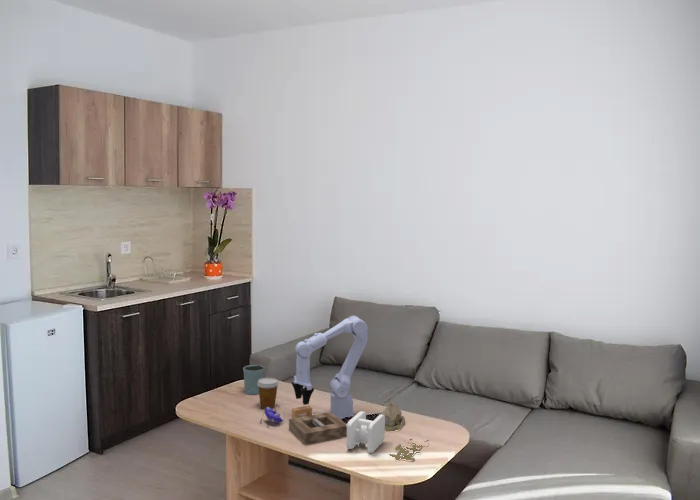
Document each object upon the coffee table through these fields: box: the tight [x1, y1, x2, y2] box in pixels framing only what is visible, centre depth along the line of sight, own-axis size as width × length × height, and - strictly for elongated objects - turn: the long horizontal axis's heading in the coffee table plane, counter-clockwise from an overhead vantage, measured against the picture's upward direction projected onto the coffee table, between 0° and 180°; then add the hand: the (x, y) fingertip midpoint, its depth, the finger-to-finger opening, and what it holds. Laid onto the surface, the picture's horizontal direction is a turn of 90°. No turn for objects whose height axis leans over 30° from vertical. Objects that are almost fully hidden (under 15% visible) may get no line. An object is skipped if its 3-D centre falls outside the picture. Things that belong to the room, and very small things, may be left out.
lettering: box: [388, 443, 423, 461], centre depth 236 cm, size 25×10×1 cm, turn 154°
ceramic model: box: [376, 402, 406, 432], centre depth 257 cm, size 14×11×10 cm
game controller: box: [260, 403, 286, 428], centre depth 257 cm, size 10×8×10 cm
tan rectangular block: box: [291, 405, 313, 419], centre depth 261 cm, size 8×3×5 cm, turn 119°
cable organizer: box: [345, 411, 386, 454], centre depth 236 cm, size 15×11×12 cm
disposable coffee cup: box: [257, 377, 279, 410], centre depth 275 cm, size 10×10×12 cm
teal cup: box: [242, 364, 266, 396], centre depth 293 cm, size 10×10×12 cm
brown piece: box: [288, 411, 347, 446], centre depth 248 cm, size 19×16×4 cm
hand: (302, 401), depth 261 cm, fingers open, 7 cm apart
